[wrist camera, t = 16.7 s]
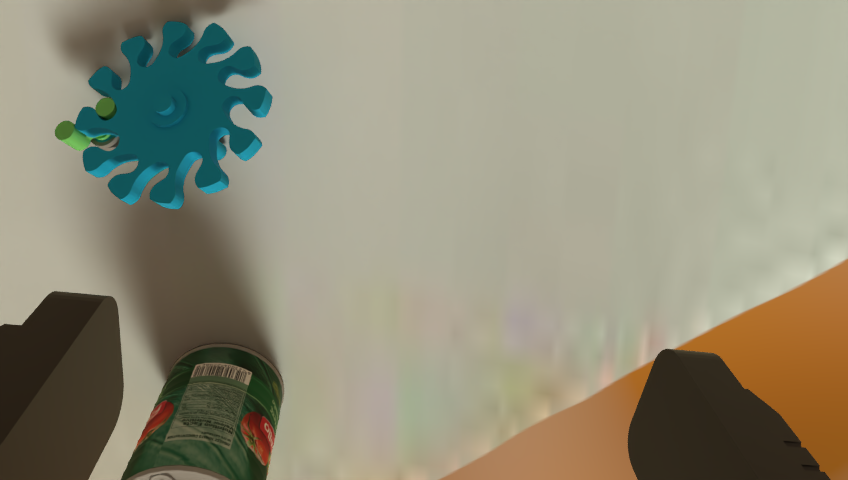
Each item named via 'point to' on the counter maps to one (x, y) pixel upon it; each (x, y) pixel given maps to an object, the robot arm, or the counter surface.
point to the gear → (169, 115)
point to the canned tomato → (211, 418)
